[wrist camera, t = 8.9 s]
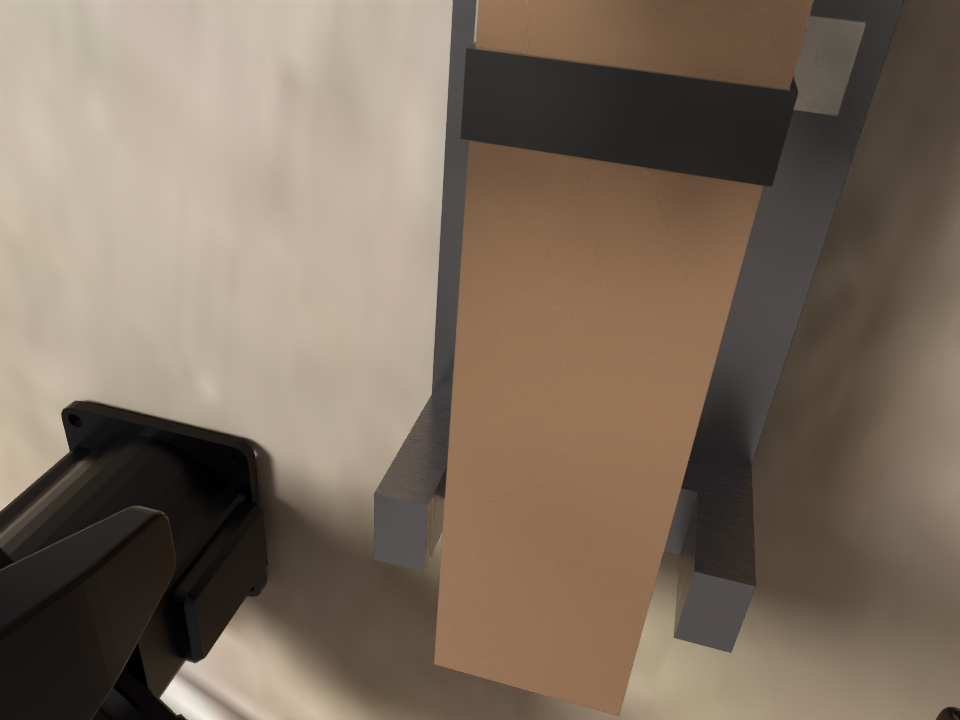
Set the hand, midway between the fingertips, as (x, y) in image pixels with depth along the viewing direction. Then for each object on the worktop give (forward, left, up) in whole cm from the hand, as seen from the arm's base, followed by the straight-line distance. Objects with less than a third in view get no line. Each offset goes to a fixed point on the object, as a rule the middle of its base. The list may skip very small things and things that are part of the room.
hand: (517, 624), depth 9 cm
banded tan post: (0, +2, -9) cm, 9 cm away
